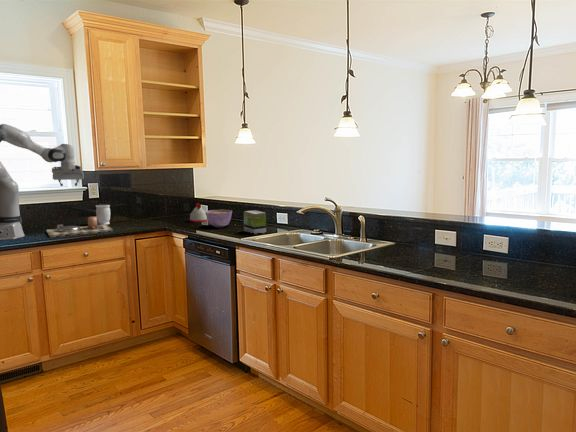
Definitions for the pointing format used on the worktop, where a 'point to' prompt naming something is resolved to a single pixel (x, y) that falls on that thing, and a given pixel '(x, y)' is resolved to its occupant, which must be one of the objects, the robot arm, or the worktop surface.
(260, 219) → the tea box
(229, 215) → the purple rounded bowl
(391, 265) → the worktop surface
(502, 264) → the worktop surface
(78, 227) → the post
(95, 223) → the pinkish brown cylinder
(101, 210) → the jar
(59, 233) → the board
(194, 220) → the kitchen timer
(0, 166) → the robot arm
